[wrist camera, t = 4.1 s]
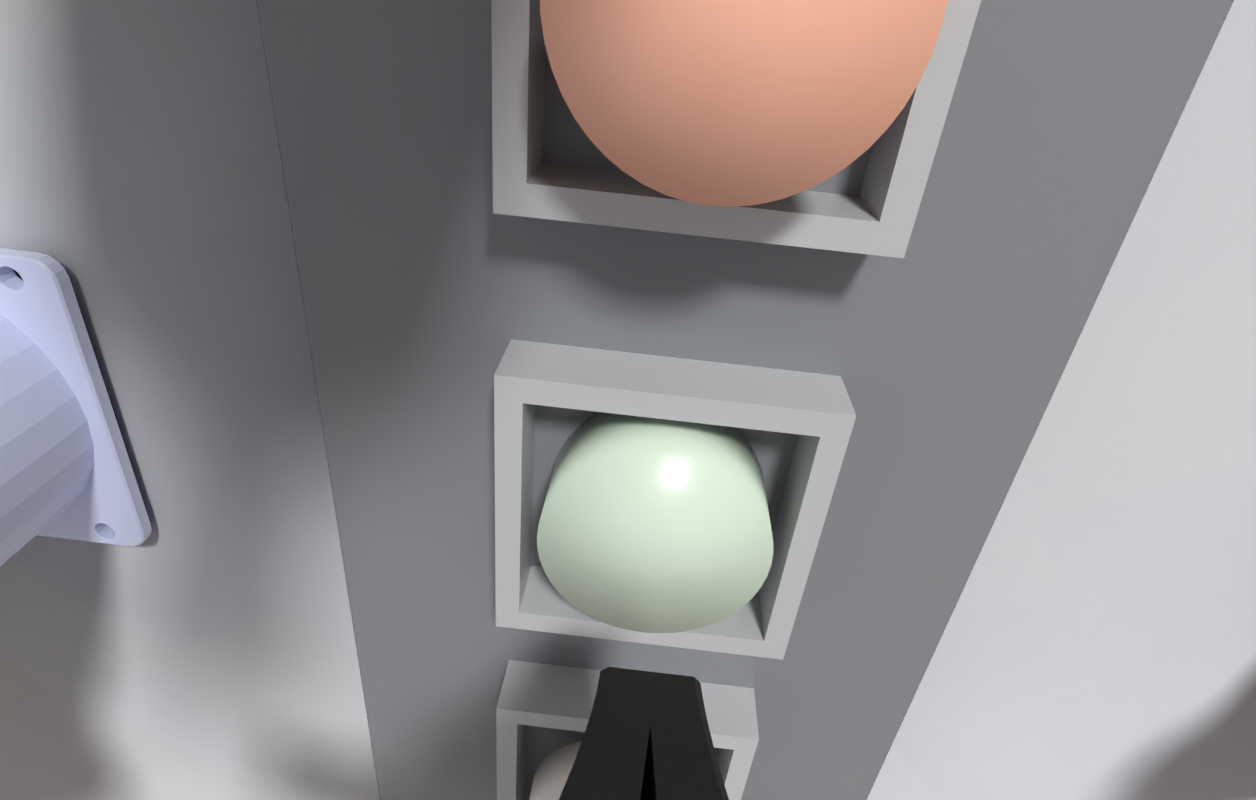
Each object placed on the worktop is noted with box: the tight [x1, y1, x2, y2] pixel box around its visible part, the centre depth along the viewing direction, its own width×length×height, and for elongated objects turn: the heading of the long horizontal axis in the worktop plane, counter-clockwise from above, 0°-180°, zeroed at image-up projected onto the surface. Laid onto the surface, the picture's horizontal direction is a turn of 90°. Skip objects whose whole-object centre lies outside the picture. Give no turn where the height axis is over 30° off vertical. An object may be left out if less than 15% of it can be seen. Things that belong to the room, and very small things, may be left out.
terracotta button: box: [540, 0, 948, 207], centre depth 9 cm, size 4×4×2 cm
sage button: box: [537, 412, 773, 633], centre depth 14 cm, size 4×4×2 cm
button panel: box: [257, 0, 1234, 800], centre depth 15 cm, size 14×26×3 cm, turn 175°
